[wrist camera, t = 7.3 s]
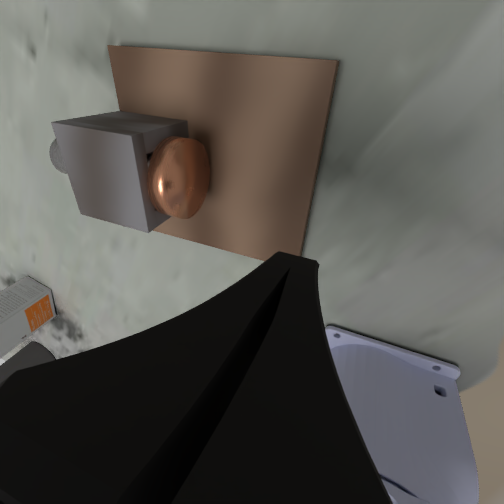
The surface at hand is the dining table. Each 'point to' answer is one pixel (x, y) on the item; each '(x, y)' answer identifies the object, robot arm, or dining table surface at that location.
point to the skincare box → (23, 312)
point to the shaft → (169, 175)
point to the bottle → (25, 359)
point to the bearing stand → (208, 144)
